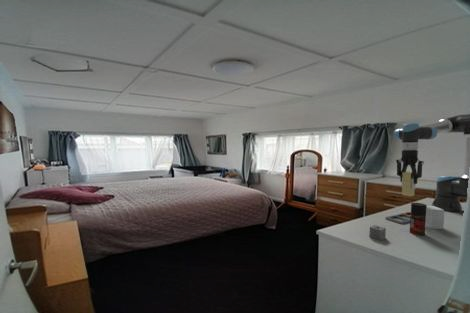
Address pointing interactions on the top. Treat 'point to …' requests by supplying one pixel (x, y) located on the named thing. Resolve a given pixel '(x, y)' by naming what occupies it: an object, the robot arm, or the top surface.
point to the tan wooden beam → (407, 184)
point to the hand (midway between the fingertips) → (408, 188)
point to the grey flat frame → (406, 214)
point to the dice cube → (377, 232)
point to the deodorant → (418, 219)
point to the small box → (434, 217)
